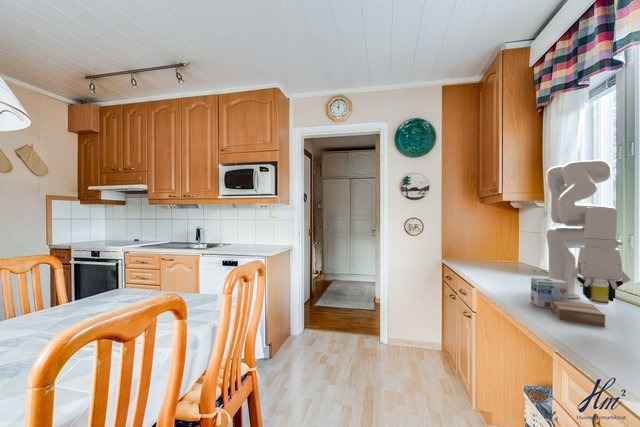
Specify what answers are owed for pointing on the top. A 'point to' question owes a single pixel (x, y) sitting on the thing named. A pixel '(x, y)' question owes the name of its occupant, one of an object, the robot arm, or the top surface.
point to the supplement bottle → (599, 291)
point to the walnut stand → (578, 313)
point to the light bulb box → (548, 291)
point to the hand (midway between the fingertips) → (598, 298)
